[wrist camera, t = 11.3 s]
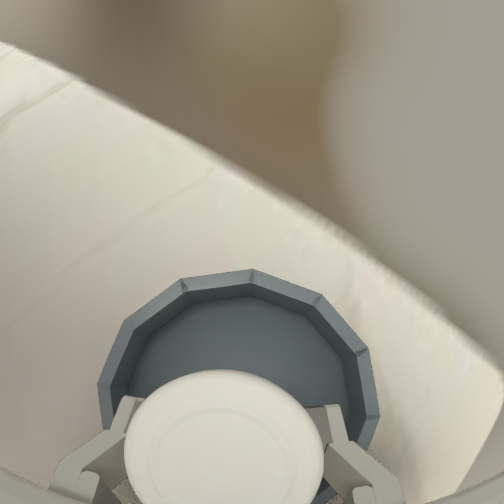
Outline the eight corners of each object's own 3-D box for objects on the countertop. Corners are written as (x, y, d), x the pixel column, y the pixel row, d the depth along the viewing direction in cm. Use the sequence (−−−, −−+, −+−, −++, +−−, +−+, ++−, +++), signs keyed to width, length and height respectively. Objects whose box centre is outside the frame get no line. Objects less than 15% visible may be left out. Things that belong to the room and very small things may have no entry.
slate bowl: (86, 373, 19) (57, 371, 15) (256, 247, 23) (258, 222, 19) (222, 539, 15) (217, 566, 11) (394, 409, 19) (422, 413, 15)
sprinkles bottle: (205, 441, 17) (137, 545, 4) (197, 373, 19) (106, 371, 6) (278, 435, 17) (334, 536, 5) (270, 366, 19) (317, 356, 6)
